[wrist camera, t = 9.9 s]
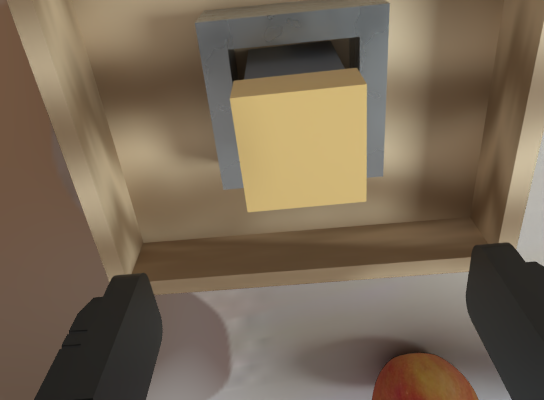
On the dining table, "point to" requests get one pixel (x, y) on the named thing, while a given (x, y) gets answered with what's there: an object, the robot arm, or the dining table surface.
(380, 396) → the apple
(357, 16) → the frame
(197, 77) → the walled box
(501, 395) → the dining table surface
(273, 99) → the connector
